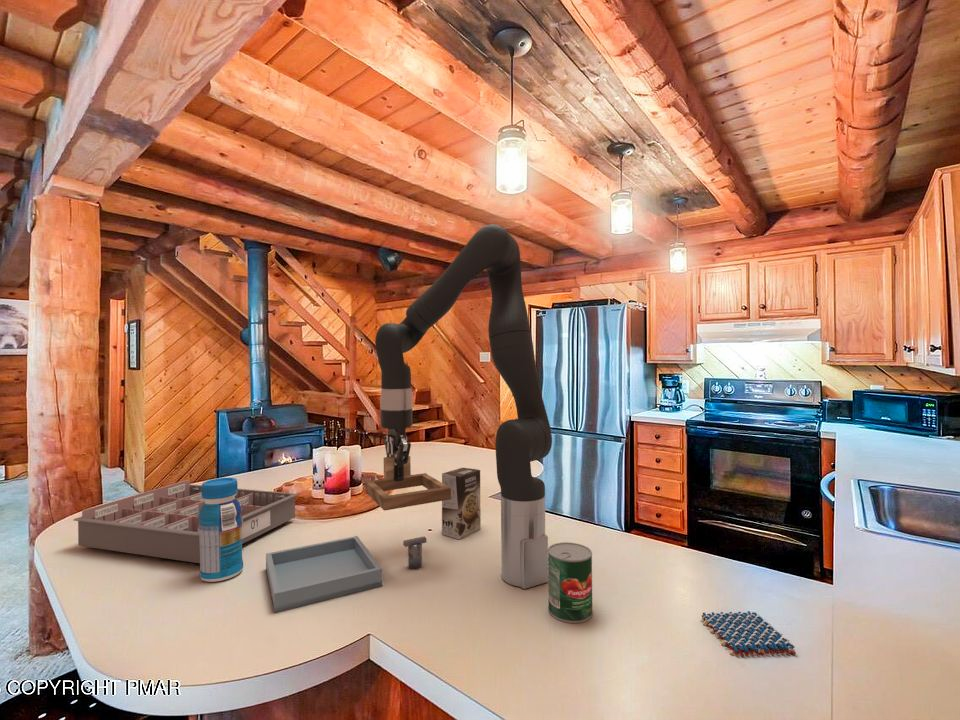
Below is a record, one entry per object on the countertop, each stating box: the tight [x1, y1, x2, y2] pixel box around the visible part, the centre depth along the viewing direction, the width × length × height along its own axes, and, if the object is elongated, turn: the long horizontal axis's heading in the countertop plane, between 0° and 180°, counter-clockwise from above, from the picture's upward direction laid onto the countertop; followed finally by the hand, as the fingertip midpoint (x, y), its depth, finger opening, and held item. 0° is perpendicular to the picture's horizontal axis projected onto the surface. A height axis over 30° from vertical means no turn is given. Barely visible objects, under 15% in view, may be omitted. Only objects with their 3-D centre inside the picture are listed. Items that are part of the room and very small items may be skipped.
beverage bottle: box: [198, 477, 244, 583], centre depth 100 cm, size 8×8×20 cm
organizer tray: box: [72, 479, 299, 564], centre depth 122 cm, size 32×40×10 cm
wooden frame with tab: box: [364, 455, 451, 511], centre depth 105 cm, size 15×15×8 cm
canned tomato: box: [547, 541, 594, 624], centre depth 84 cm, size 8×8×11 cm
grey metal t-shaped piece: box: [402, 536, 428, 570], centre depth 103 cm, size 3×5×6 cm, turn 119°
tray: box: [265, 535, 383, 614], centre depth 98 cm, size 20×20×4 cm
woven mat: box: [699, 610, 796, 657], centre depth 76 cm, size 10×11×2 cm
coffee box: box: [441, 467, 482, 540], centre depth 123 cm, size 9×6×16 cm
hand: (397, 479), depth 111 cm, fingers closed on wooden frame with tab
